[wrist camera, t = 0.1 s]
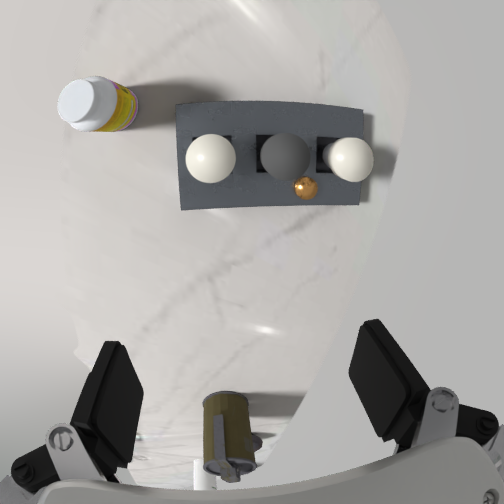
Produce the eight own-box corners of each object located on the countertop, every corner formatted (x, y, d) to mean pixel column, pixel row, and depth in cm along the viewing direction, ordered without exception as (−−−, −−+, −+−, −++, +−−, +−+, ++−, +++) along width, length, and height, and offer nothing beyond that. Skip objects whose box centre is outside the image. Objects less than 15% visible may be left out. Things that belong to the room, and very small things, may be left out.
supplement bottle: (146, 94, 31) (114, 76, 20) (128, 137, 34) (89, 139, 22) (108, 83, 30) (64, 66, 18) (91, 125, 32) (42, 125, 20)
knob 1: (190, 136, 32) (184, 135, 26) (233, 134, 32) (235, 132, 27) (192, 176, 34) (186, 184, 28) (233, 174, 34) (236, 181, 29)
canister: (253, 410, 59) (263, 482, 40) (212, 418, 59) (214, 488, 40) (240, 385, 54) (250, 467, 36) (195, 394, 54) (193, 473, 36)
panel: (183, 205, 38) (179, 212, 35) (179, 107, 33) (174, 103, 29) (350, 200, 41) (362, 206, 37) (353, 110, 35) (366, 109, 31)
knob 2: (317, 135, 33) (334, 135, 28) (352, 138, 33) (374, 140, 28) (316, 174, 35) (333, 181, 30) (351, 175, 36) (372, 182, 30)
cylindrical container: (198, 457, 68) (200, 523, 45) (219, 461, 70) (223, 525, 47) (190, 463, 70) (190, 525, 47) (209, 467, 72) (212, 527, 49)
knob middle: (255, 133, 32) (262, 132, 27) (296, 134, 33) (310, 134, 27) (256, 174, 34) (262, 181, 29) (296, 173, 35) (309, 180, 29)
